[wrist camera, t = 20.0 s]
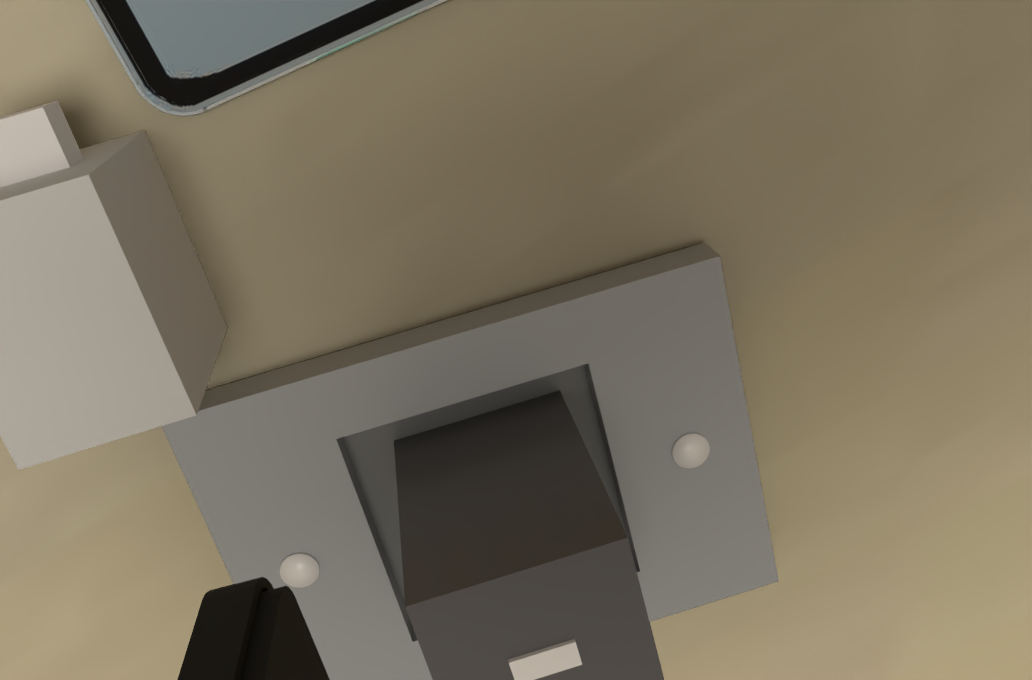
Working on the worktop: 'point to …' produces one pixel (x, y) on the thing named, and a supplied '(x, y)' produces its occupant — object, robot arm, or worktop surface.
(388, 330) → the worktop surface
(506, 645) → the block
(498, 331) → the outlet plate
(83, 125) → the worktop surface
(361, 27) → the smartphone
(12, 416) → the cable plug
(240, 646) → the robot arm
